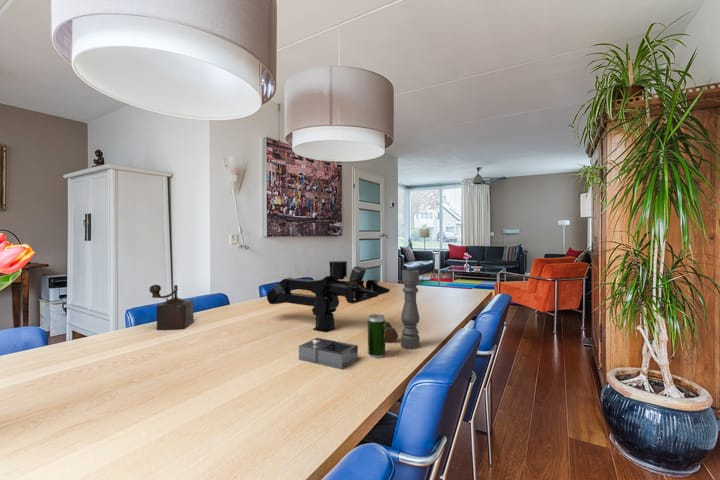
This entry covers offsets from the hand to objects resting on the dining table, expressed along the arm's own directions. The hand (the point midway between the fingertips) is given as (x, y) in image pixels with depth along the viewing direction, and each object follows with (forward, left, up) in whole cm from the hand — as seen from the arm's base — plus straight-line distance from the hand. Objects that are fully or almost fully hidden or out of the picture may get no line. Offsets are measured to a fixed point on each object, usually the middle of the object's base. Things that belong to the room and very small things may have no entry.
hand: (383, 292), depth 120 cm
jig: (-6, -25, -16) cm, 31 cm away
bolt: (0, +4, -17) cm, 17 cm away
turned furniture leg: (+11, -2, -17) cm, 20 cm away
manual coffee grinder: (-78, -28, -17) cm, 85 cm away
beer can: (+5, -15, -17) cm, 23 cm away
